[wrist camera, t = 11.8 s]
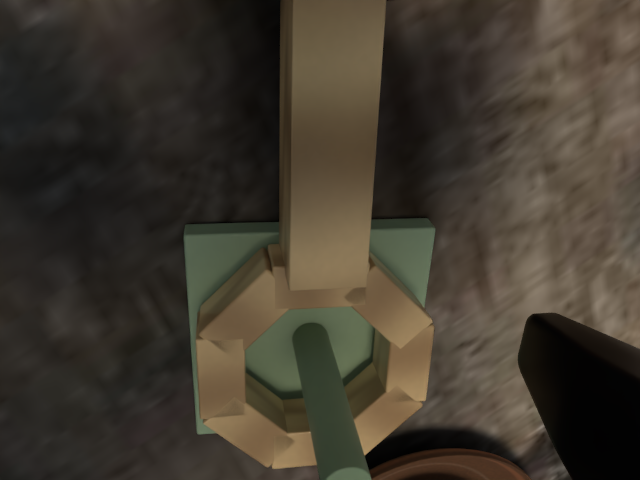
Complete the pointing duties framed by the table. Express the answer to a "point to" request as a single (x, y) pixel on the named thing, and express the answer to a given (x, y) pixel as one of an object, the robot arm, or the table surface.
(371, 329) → the peg stand
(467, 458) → the cup and saucer
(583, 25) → the table surface
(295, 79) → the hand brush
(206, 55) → the table surface
